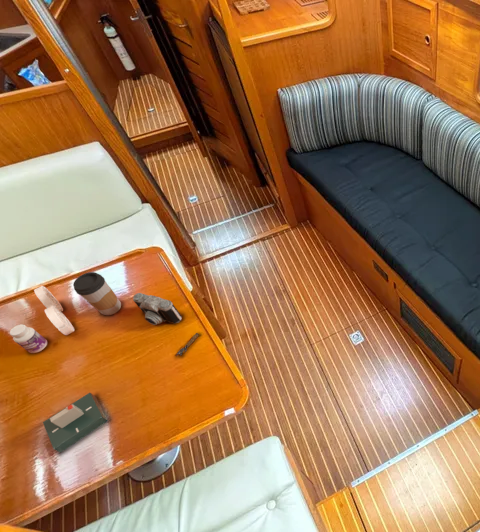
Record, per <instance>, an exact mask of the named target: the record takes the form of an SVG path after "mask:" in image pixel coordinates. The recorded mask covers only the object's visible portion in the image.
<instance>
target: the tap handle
mask: <svg viewBox="0 0 480 532" xmlns="http://www.w3.org/2000/svg"><path fill="white" fill-rule="evenodd" d="M71 404H72V403H71ZM71 404H70V406H69V405H67V406H66V407H67V408H66V407H64V408H65V409H64V408H63V409H64V410H63V409H61V410H62V411H61V410H60V411H61V412H60V411H58V412H59V413H58V412H57V413H58V414H56V413H55V414H56V415H55V414H53V415H54V416H53V415H52V416H53V417H52V416H50V417H51V418H50V417H49V418H50V420H51V422H52V423H54V424H55V425H57V426H59V427H61V428H63V427H65V426H66V425H68V424H69V423H71V422H72V421H74V420H75V419H77V418H79V417H80V416H82V415H83V414H84V413H83V411H82V410H81V409H79V408H78V407H76V406H75V405H73V404H72V405H71Z"/></svg>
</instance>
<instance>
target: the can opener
mask: <svg viewBox="0 0 480 532" xmlns="http://www.w3.org/2000/svg"><path fill="white" fill-rule="evenodd" d="M199 335H200V334H199V333H198V332H196V333H195V334H194V335H193V336H192V337H191V339H190V340H189V341H188V342H187V343H186V344H185V346H184V347H182V348H180V349H179V350H178V351H177V353H176V356H180V357H181V356H182V355H183V353H186V352H187V350H188V348H189V347H190V346H191V345H192V344H193V342H195V341H196V340H197V338H198V337H199Z"/></svg>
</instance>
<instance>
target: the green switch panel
mask: <svg viewBox="0 0 480 532" xmlns="http://www.w3.org/2000/svg"><path fill="white" fill-rule="evenodd" d="M72 404H73V405H75V406H76V407H78V408H79V409H81V410H82V411H83V413H84V414H83V415H82V416H80V417H79V418H77V419H75V420H74V421H72V422H71V423H69V424H68V425H66V426H65V427H63V428H61V427H59V426H57V425H55V424H54V423H52V422H51V420H50V418H51V417H53V416H54V415H56V414H58V413H59V412H61V411H62V410H64V409H65V408H67V407H68V406H70V405H72ZM70 405H68V406H66V407H64V408H63V409H61V410H60V411H58V412H57V413H55V414H53V415H52V416H50V417H49V418H47V419H44V421H42V425H43V426H44V430H45V431H46V435H47V436H48V439H49V441H50V444H51V446H52V448H53V450H54V451H56V452H58V453H63V452H64V451H66V450H67V449H69V448H70V447H71V446H73V445H75V444H77V443H78V442H79V441H80V440H82V439H83V438H84V437H86V436H89V434H91V433H93V432H94V431H96V430H97V429H98V428H100V427H101V426H102V425H104V424H106V423H107V422H109V420H108V418H107V416H106V414H105V412H104V409H103V408H102V406H101V403H100V402H99V400H98V398H97V396H96V395H94V394H93V393H92V392H88V393H86V394H85V395H83V396H81V397H80V398H78V399H77V400H75V401H74V402H72V403H71V404H70Z"/></svg>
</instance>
